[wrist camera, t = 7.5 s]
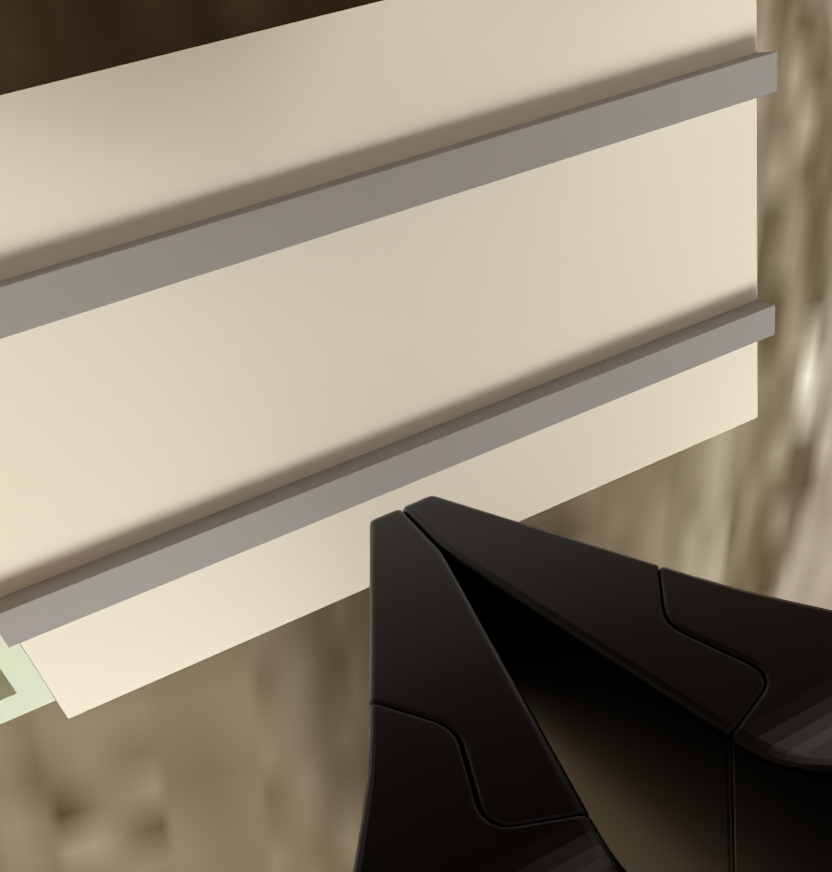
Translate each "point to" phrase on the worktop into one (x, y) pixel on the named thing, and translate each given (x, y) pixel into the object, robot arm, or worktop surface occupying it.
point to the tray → (20, 683)
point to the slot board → (355, 302)
